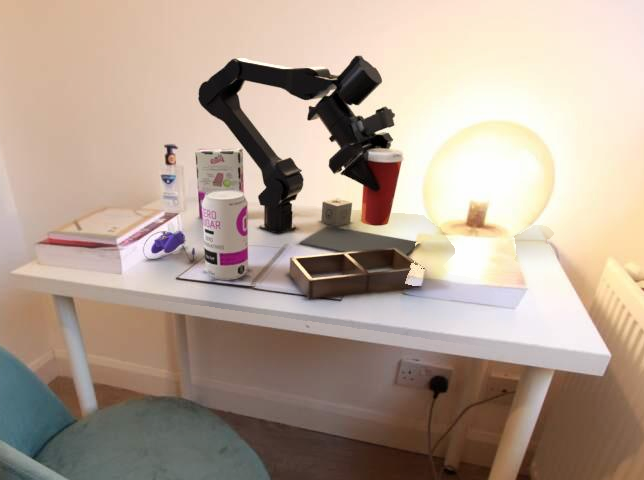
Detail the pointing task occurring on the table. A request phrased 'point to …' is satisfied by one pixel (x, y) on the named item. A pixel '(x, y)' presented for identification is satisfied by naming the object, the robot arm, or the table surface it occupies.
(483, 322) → the table surface
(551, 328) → the table surface
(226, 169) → the candy bar box
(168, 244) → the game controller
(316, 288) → the divided tray
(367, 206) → the paper cup
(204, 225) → the supplement can
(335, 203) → the dice cube
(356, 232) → the desk mat
